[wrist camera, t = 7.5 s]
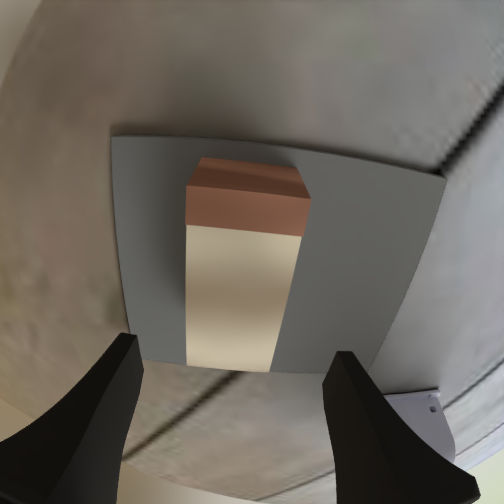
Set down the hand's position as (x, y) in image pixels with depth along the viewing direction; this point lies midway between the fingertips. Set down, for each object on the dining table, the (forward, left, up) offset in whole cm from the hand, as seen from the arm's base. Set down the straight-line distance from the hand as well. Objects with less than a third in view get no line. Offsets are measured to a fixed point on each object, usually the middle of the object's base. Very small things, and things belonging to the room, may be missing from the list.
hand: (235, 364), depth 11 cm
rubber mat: (-2, +2, -8) cm, 9 cm away
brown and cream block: (0, 0, -8) cm, 8 cm away
